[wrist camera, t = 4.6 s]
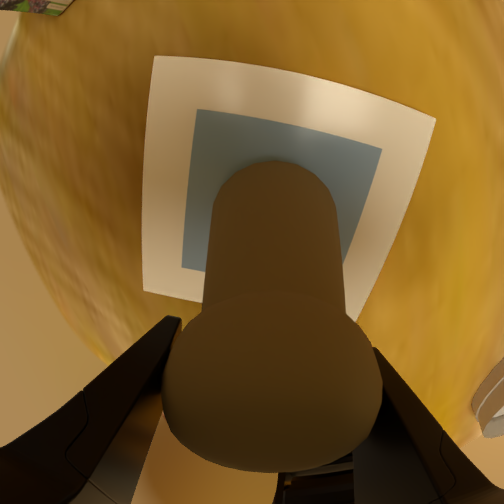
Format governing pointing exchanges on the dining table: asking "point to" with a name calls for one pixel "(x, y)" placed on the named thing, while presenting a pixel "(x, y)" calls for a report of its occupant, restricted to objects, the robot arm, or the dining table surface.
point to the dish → (491, 403)
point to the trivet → (270, 149)
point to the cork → (272, 334)
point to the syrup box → (36, 6)
